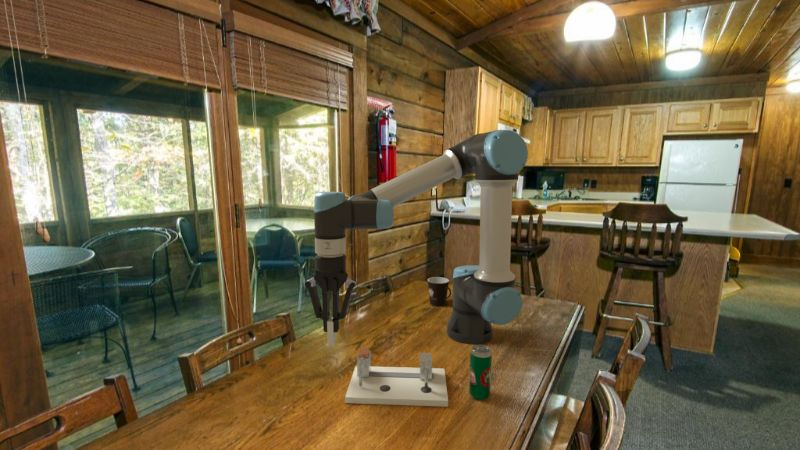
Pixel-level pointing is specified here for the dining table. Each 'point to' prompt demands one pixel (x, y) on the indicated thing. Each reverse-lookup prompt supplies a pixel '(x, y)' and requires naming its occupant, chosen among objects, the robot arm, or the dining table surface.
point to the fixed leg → (426, 367)
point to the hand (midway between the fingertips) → (331, 343)
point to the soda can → (480, 372)
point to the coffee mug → (438, 291)
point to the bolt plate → (398, 387)
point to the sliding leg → (363, 364)
